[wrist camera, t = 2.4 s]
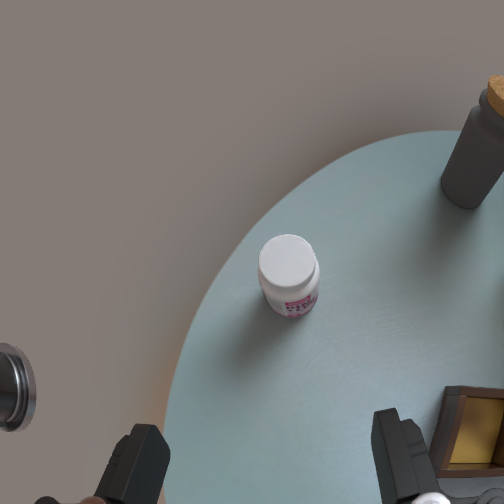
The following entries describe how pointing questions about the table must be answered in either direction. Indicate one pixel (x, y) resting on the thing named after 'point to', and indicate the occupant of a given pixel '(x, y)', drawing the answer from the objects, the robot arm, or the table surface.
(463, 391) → the divided wooden box
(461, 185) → the bottle
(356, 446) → the table surface
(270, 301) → the pill bottle
